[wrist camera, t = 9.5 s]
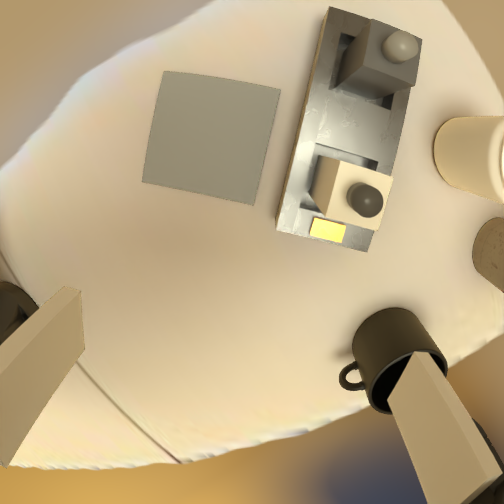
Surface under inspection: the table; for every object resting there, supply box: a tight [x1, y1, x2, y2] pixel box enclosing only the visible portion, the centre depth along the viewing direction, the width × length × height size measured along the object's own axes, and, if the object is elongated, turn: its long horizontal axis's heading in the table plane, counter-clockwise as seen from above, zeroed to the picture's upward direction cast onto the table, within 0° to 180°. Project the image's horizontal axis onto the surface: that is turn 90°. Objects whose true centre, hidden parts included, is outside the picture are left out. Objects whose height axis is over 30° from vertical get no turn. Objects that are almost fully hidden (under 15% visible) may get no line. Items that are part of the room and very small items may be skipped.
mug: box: [339, 308, 448, 415], centre depth 33 cm, size 9×12×9 cm
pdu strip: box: [275, 6, 411, 252], centre depth 27 cm, size 22×9×5 cm, turn 167°
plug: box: [309, 155, 394, 231], centre depth 25 cm, size 4×4×12 cm
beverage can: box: [434, 116, 504, 205], centre depth 23 cm, size 8×8×12 cm
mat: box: [142, 71, 281, 205], centre depth 30 cm, size 12×12×1 cm
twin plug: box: [335, 19, 422, 100], centre depth 21 cm, size 4×4×12 cm
